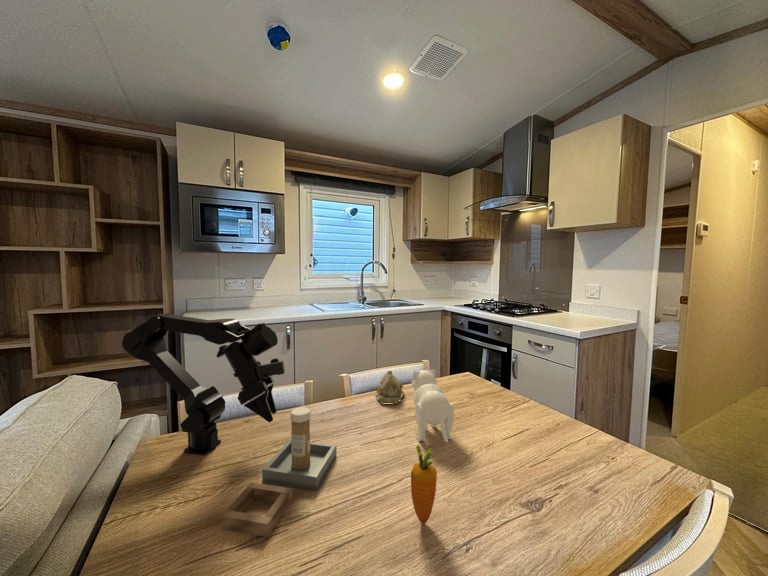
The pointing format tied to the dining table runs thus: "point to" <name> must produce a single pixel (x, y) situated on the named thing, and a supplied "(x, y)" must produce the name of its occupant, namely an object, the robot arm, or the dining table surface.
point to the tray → (306, 478)
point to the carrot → (423, 486)
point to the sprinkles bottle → (300, 438)
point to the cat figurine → (431, 404)
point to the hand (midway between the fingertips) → (273, 416)
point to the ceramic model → (389, 389)
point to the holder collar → (255, 523)
